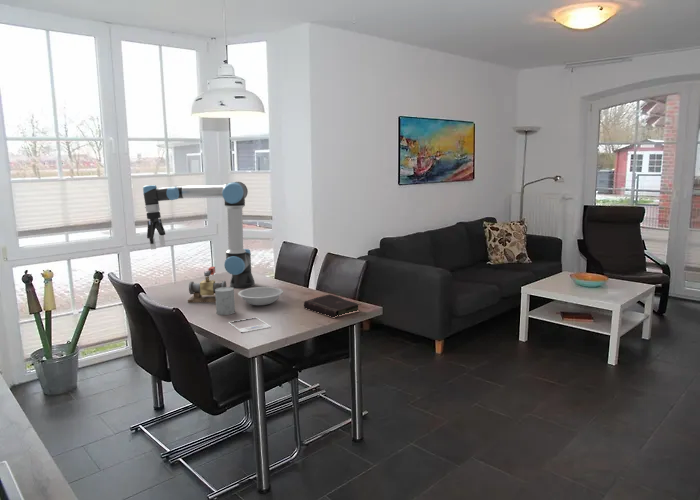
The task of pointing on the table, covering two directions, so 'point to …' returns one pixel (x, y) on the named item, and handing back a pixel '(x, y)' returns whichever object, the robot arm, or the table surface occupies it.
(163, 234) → the robot arm
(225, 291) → the speckled concrete cylinder
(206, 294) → the valve stand
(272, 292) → the sink basin
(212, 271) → the lever
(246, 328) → the photo frame
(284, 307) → the table surface
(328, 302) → the diary
